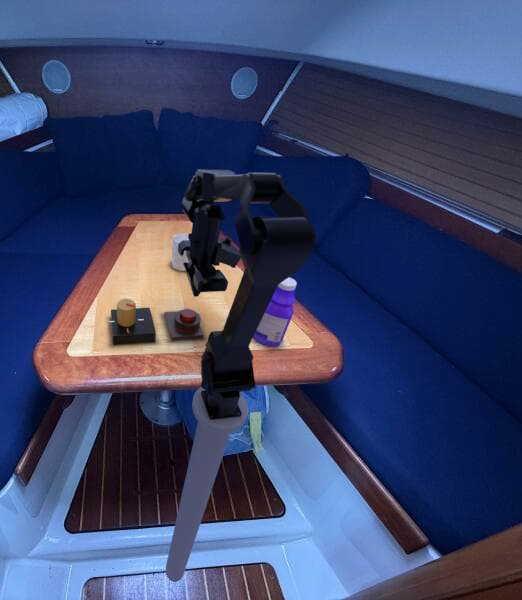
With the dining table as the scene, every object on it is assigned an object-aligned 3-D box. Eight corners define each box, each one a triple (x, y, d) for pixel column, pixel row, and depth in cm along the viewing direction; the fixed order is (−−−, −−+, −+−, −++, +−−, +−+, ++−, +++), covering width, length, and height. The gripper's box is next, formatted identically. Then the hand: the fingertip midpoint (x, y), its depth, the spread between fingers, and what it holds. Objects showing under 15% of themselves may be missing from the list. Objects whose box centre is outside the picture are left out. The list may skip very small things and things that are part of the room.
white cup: (165, 265, 108) (167, 238, 102) (180, 258, 112) (183, 231, 107) (183, 274, 103) (186, 246, 98) (198, 266, 108) (202, 239, 103)
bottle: (283, 337, 81) (305, 279, 71) (280, 351, 77) (303, 291, 67) (254, 328, 83) (272, 270, 73) (249, 341, 79) (268, 281, 69)
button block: (204, 338, 79) (205, 329, 77) (171, 341, 77) (172, 331, 76) (193, 313, 87) (195, 304, 85) (164, 315, 85) (164, 306, 84)
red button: (196, 322, 80) (197, 317, 79) (182, 323, 79) (183, 317, 78) (192, 313, 82) (193, 308, 81) (179, 314, 82) (179, 309, 81)
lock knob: (113, 323, 77) (113, 305, 73) (122, 313, 80) (122, 296, 77) (130, 328, 75) (130, 310, 72) (138, 318, 79) (138, 300, 76)
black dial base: (155, 342, 77) (155, 332, 75) (109, 345, 75) (109, 335, 73) (149, 316, 85) (149, 306, 83) (107, 318, 83) (107, 309, 81)
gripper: (260, 253, 60) (243, 318, 69) (226, 216, 75) (215, 274, 84) (203, 254, 58) (193, 321, 67) (180, 217, 73) (174, 275, 82)
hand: (195, 295), depth 75 cm, fingers closed
